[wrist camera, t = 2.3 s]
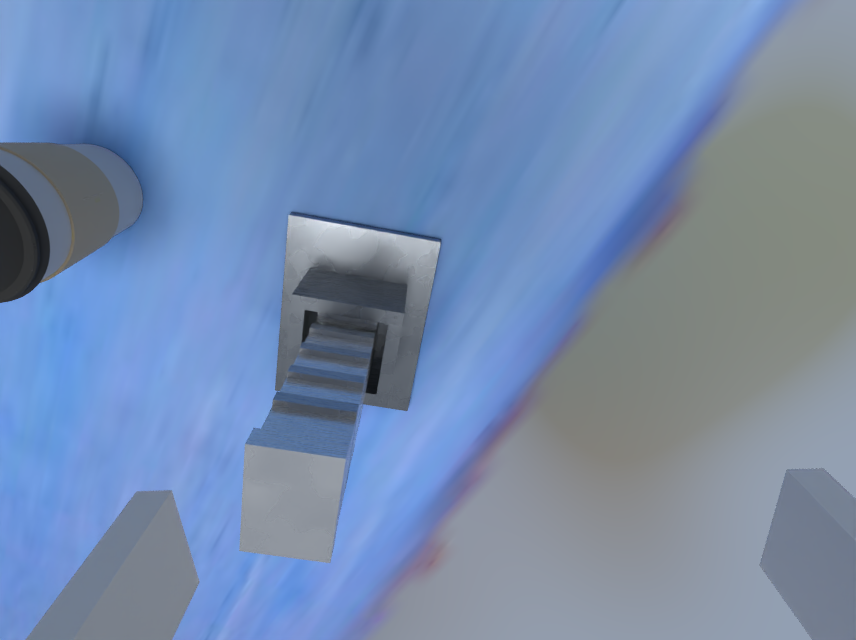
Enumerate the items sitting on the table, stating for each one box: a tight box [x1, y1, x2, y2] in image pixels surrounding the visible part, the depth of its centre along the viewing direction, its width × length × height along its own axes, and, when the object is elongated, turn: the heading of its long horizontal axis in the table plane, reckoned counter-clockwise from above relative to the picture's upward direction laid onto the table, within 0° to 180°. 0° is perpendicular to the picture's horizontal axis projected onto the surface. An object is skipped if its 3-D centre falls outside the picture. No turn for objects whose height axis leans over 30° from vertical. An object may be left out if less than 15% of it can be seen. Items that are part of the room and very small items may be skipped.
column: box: [239, 312, 379, 563], centre depth 34 cm, size 4×6×21 cm
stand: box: [275, 212, 441, 411], centre depth 41 cm, size 12×16×8 cm
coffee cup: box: [0, 143, 143, 303], centre depth 33 cm, size 9×9×15 cm
